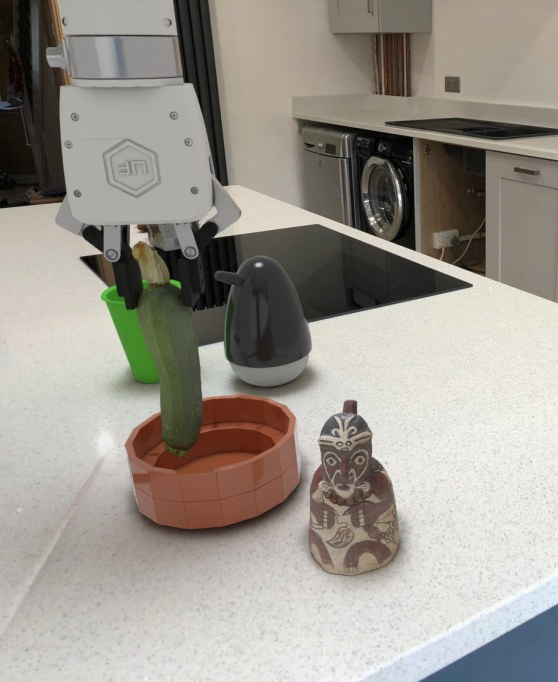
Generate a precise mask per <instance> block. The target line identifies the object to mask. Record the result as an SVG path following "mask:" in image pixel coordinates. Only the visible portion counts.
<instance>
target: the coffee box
mask: <svg viewBox="0 0 558 682" xmlns="http://www.w3.org/2000/svg"><path fill="white" fill-rule="evenodd" d="M146 227H147V231H146V233H147V237H148V243H149V245H151V246H154V247H156V248H158V249H160V250H162V251H164V252H170V251H177V250H182V249H181V246H180V243H179V240H178V237H177V234H176V231H175V228H174V225H173V223H168V224H146Z"/></svg>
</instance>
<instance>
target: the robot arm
mask: <svg viewBox="0 0 558 682" xmlns="http://www.w3.org/2000/svg"><path fill="white" fill-rule="evenodd" d="M56 1H57V7H58V11H59V17H60V22H61V28H62V33H63V37H61V38H60V39H61V43H60V44H58V45H56V46H55V47H49V46H48V47H46V49H45V56H46V61H47V64H48V66H49V67H50V68H61V69H62V70H66V72H67V76H68V77H69V78H71V82H72V84H66V85H65V84H64V85H60V86H59V127H60V129H59V130H60V143H61V155H62V166H63V174H64V183H65V189H66V194H65V196H64V198H63V200H62V202H61V204H60V206H59V209H58V211H57V213H56V215H55V218H54V221H55V223H56V225H57V226H58V227H60V228H62V229H64V230H65V231H68V232H70V233H72V234H74V235H76V236H79V237H81V238H83V239H84V240H85V241H86V242H87V243H89V244H90V245H91V246H93V248H95V249H96V250H97V251H99V252H100V253H101V254H103V256H104V259H106V260H107V261H108V262H110V263H111V266H112V272H113V277H114V282H115V285H116V289H117V294H118V296H119V297H124V301H125V306H126V309H127V310H134V309H135V308H137V303H138V298H139V296H140V294H141V293H142V292H143V291H144V288H143V281H142V280H143V276H142V273H141V270H140V266H139V261H137V260H136V259H135V258H134V256H133V254H132V249H133V247H131V225H132V226H134V225H136V226H137V224H168V223H173V225H174V228H175V231H176V234H177V237H178V240H179V243H180V246H181V249H180V251H179V253H180V257H179V259H178V260H177V263H176V264H177V265H176V266H177V271H178V278H179V282H180V286H181V292H182V299H183V305H184V306H186V307H192V308H194V307H195V305H196V304H197V302H198V300H199V299H200V295H202V294H204V293H205V291H206V282H205V275H204V267H203V261H202V252H203V250H205V248H206V247H207V246H208V245H209V244H210V243H211V241H213V239H214V238H215V237H216V236H217V235H218V234H220V233H222V232H223V231H225V230H227V228H229V227H230V226H233V224H235V223H237V222H238V221H239V220H240V218H241V216H242V209H241V208H240V207H239V205H238V204H237V203H236V202H235V201H234V199H233V198H232V196H231V195H230V194H229V193H228V192H227V190H226V188H225V187H224V186H223V184H221V182H220V181H219V180H218V179H217V177H216V172H215V167H214V162H213V156H212V151H211V147H210V142H209V138H208V133H207V127H206V124H205V120H204V116H203V113H202V109H201V106H200V103H199V102H200V101H199V99H198V96H197V93H196V90H195V88H194V84H193V83H189V82H184V76H183V67H182V66H183V65H182V60H181V59H182V58H181V52H180V43H179V38H178V30H177V29H178V28H177V21H176V13H175V5H174V0H56ZM213 207H214V208H215V209H216V214H215V215H213V216H212V217H210V218H209V219H207V220H206V221H205V222H204V223H203V225H201V227H200V222H198V220H199V221H200V220H201V219H204V218H205V217H206V216H207V215H208V214H209V213H210V212H211V210H212V208H213Z"/></svg>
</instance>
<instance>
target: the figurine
mask: <svg viewBox="0 0 558 682" xmlns="http://www.w3.org/2000/svg"><path fill="white" fill-rule="evenodd" d="M372 439H373V432H372V430H371V428H370V426H369V424H368V422H367V421H366V420H365V418H363V417H362V416H361V415H359V414H358V401H357V400H356V399H345V400H344V401H343V405H342V412H338V413H333V414H332V415H331V416H329V418H328V419H327V420H326V421H325V422H324V423H323V426H322V428H321V430H320V435H319V436H318V439H317V443H318V447H319V451H320V463H321V464H320V465H319V466H318V467H317V469H316V470H315V471H314V473H313V475H312V479H311V483H310V487H309V521H308V522H309V523H308V532H307V536H308V537H307V539H308V541H307V542H308V546H309V550H310V553H312V555H313V558H314V560H316V561H317V563H319V564H320V565H321V568H322V569H324V570H325V572H327V573H329V574H332V575H333V574H335V575H337V574H338V575H344V576H352V577H355V576H357V575H359V574H363V573H367V572H371V571H373V570H376V569H380V568H382V567H384V566H386V565H387V564H389V563H390V562H391V561H392V559H393V558H394V556H395V554H396V552H397V550H398V546H399V545H400V543H399V541H400V524H399V516H398V511H397V510H398V509H397V502H396V497H395V492H394V491H395V490H394V486H393V483H392V479H391V477H390V476H389V474H388V471H387V469H386V468H385V467H384V465H383V464H382V463H381V462H380V461H379V460H378V459H376V458H375V457H373V443H372Z"/></svg>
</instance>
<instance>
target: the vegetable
mask: <svg viewBox="0 0 558 682" xmlns="http://www.w3.org/2000/svg"><path fill="white" fill-rule="evenodd" d="M152 246H153V245H151V244H148V243H147V242H146V241H142V240H139V241H137V243H135V244H133V246H132V254H133V256H134V258H135V259H136V260H137V261H139V266H140V270H141V275H142V279H143V280H144V279H145V281H147V282H148V283H149V285H148V286H147V288H146V289H145V290H144V291H143V292H142V293H141V294H140V296H139V298H138V303H137V308H136V311H137V319H138V324H139V327H140V330H141V333H142V335H143V338H144V340H145V343H146V346H147V348H148V351H149V353H150V355H151V357H152V359H153V362H154V364H155V367H156V370H157V372H158V376H159V381H160V382H159V406H160V407H159V409H160V412H161V421H162V438H163V440H164V449H165V451H166V452H170V453H171V454H172V456H175V455H177V456H178V457H180V458H184V457H185V456H186V455H187V454H188V452H189V451H190V449H191V447H192V446H194V445H195V443H196V442H197V440H198V438H199V435H200V430H201V424H202V412H203V400H202V398H203V390H202V377H201V376H202V375H201V374H202V373H201V372H202V371H201V360H200V359H201V358H200V352H199V339H198V332H197V325H196V319H195V314H194V310H193V307H186V306H184V305H183V299H182V292H181V289H180V288H179V287H177V286H175V285H173V284H171V283H170V280H171V278H170V277H171V276H170V272H169V268H168V266H167V264H166V262H165V261H164V259H163V258H162V256H161V255H159V253H158V250H156V249H152Z"/></svg>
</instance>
